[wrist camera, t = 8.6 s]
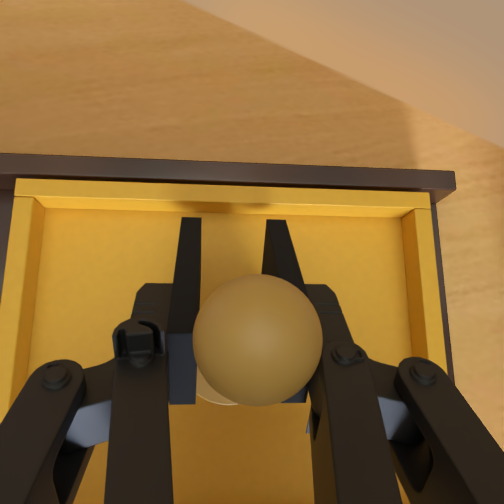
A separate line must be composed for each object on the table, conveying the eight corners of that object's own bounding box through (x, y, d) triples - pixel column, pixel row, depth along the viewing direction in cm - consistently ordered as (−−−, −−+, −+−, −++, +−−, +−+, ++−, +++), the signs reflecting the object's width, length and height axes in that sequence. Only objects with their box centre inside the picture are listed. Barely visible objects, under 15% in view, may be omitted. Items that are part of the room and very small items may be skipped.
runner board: (-265, 570, 18) (-364, 614, 15) (-172, 173, 22) (-235, 142, 19) (457, 537, 21) (502, 569, 18) (423, 194, 25) (455, 170, 21)
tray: (-4, 533, 18) (-534, 974, 5) (35, 197, 21) (-224, -53, 8) (435, 516, 19) (864, 809, 7) (407, 208, 23) (662, 17, 10)
